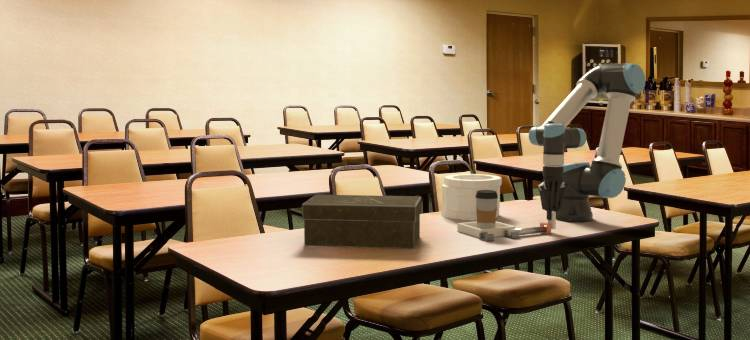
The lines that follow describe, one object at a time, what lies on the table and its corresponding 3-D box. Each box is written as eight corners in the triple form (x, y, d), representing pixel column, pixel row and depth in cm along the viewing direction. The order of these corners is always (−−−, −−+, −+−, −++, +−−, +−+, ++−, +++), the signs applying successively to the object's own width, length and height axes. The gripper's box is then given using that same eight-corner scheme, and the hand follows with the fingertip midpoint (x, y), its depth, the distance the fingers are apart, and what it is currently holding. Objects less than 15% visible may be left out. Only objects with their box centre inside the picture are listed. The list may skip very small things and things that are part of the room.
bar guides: (510, 235, 290) (511, 229, 289) (519, 237, 285) (519, 231, 285) (479, 239, 283) (479, 232, 283) (486, 241, 279) (487, 234, 279)
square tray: (490, 227, 305) (491, 219, 305) (515, 234, 292) (515, 226, 291) (457, 231, 298) (457, 223, 298) (480, 238, 285) (480, 230, 284)
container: (469, 208, 351) (469, 172, 349) (511, 215, 333) (512, 177, 332) (430, 215, 334) (430, 177, 332) (473, 222, 317) (473, 182, 315)
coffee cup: (496, 233, 290) (497, 193, 288) (474, 232, 292) (474, 192, 290) (497, 229, 298) (498, 190, 296) (475, 228, 300) (476, 189, 298)
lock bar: (544, 231, 296) (544, 222, 296) (551, 233, 293) (551, 224, 292) (504, 236, 288) (505, 226, 288) (511, 238, 284) (511, 228, 284)
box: (415, 249, 267) (415, 205, 265) (302, 246, 273) (301, 203, 271) (421, 236, 289) (421, 196, 287) (316, 234, 295) (315, 194, 293)
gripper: (560, 163, 299) (558, 225, 301) (532, 165, 293) (531, 228, 295) (573, 165, 292) (571, 228, 295) (545, 167, 286) (544, 231, 289)
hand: (551, 228), depth 295 cm, fingers closed
